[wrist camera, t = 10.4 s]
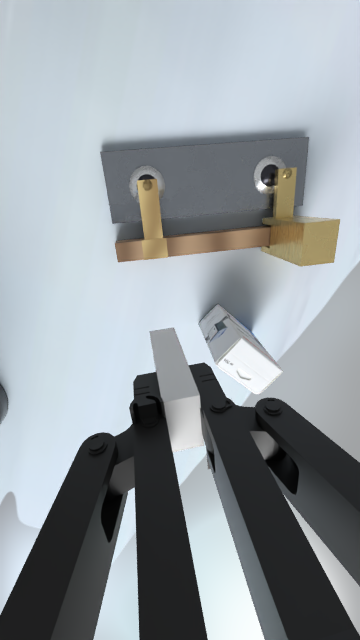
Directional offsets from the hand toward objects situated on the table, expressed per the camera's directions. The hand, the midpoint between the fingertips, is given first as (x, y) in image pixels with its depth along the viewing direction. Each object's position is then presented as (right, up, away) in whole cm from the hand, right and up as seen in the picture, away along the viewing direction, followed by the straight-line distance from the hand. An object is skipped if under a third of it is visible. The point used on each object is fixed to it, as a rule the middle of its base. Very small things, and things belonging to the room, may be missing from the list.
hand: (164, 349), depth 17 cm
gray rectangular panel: (+5, +20, +19) cm, 28 cm away
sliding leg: (+14, +17, +21) cm, 31 cm away
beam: (+5, +16, +21) cm, 27 cm away
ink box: (+8, 0, +28) cm, 30 cm away
